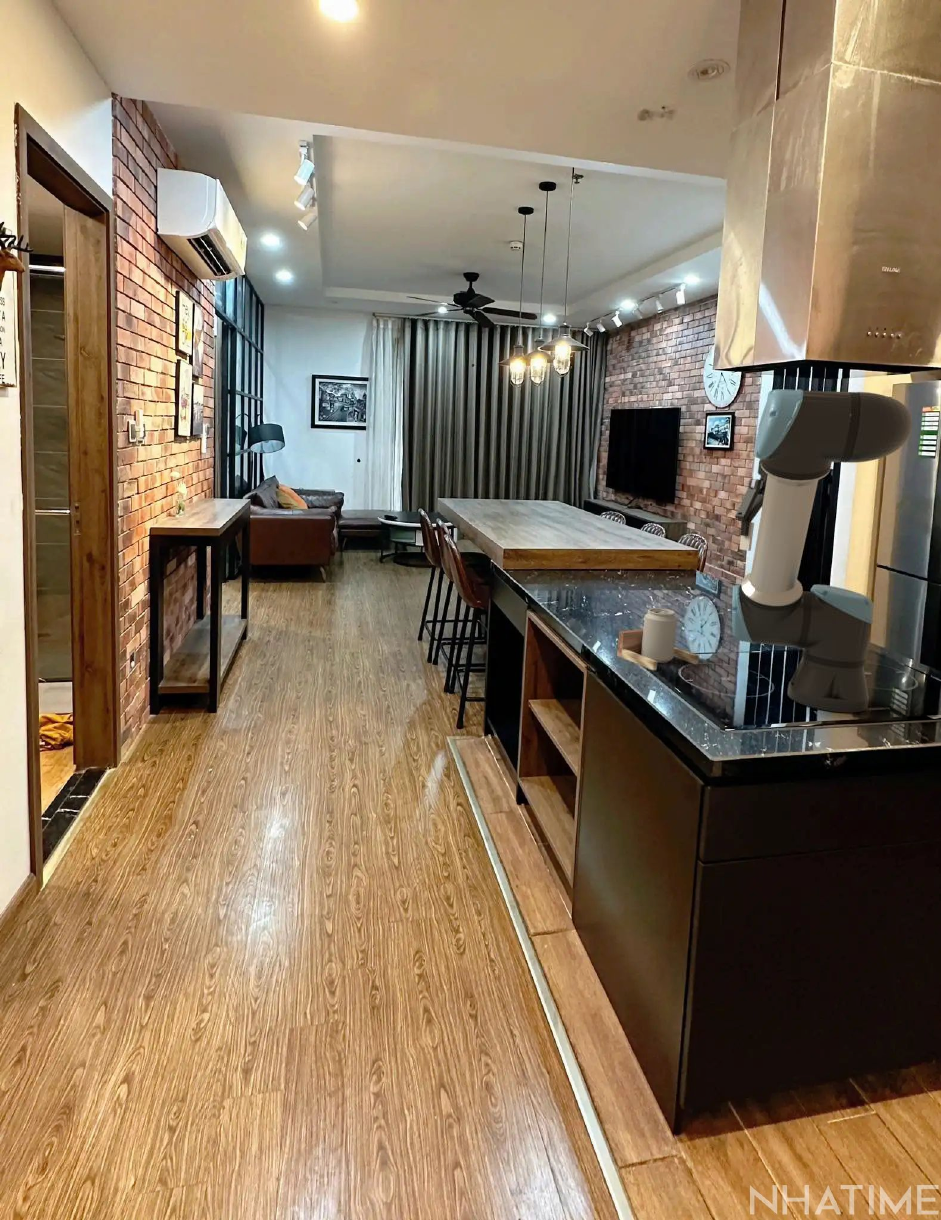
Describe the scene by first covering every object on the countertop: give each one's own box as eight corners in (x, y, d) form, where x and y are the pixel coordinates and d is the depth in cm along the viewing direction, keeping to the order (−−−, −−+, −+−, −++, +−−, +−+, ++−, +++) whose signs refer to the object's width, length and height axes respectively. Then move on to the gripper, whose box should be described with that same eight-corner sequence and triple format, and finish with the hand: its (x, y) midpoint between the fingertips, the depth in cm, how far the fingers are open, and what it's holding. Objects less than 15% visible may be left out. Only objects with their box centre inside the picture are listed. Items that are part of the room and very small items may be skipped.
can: (654, 653, 189) (658, 605, 186) (679, 661, 183) (684, 611, 180) (634, 657, 184) (638, 608, 181) (659, 665, 178) (664, 615, 176)
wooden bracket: (697, 663, 181) (700, 639, 180) (653, 670, 174) (655, 644, 173) (660, 650, 192) (663, 626, 190) (617, 655, 185) (619, 631, 184)
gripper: (798, 459, 189) (786, 545, 193) (726, 456, 176) (715, 548, 181) (825, 460, 182) (812, 549, 187) (752, 457, 170) (740, 553, 175)
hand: (764, 549), depth 184 cm, fingers open, 13 cm apart
